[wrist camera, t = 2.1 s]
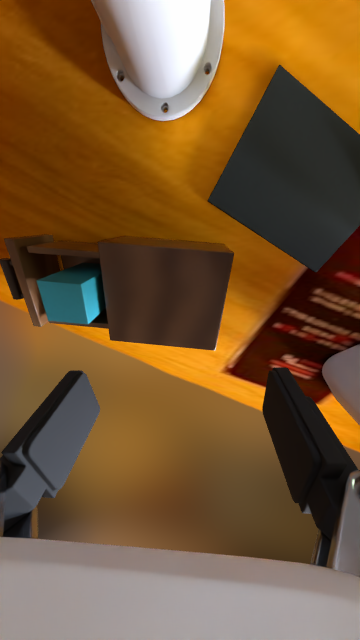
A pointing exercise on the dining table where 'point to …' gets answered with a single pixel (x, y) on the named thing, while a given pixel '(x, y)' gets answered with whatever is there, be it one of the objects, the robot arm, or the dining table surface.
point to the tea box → (73, 294)
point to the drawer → (44, 270)
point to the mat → (294, 174)
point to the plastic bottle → (345, 379)
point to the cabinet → (164, 290)
